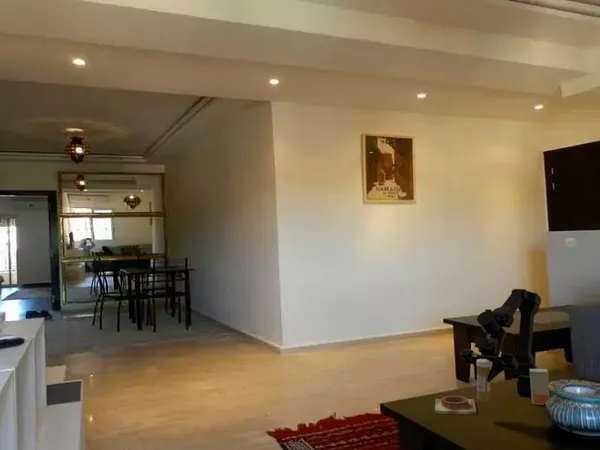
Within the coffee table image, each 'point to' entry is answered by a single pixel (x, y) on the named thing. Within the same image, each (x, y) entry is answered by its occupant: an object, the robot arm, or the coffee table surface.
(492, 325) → the robot arm
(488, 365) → the sprinkles bottle
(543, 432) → the coffee table surface
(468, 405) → the collar base
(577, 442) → the coffee table surface
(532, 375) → the skincare box
